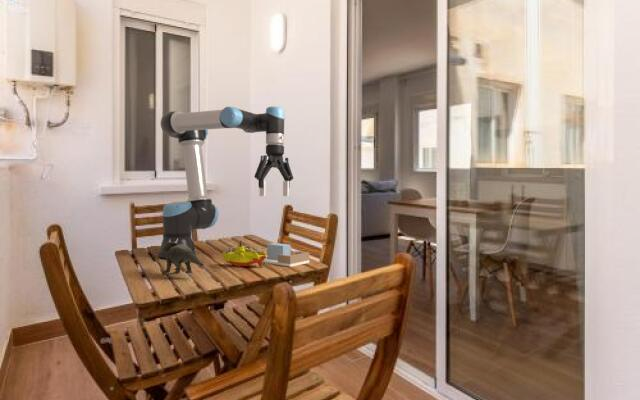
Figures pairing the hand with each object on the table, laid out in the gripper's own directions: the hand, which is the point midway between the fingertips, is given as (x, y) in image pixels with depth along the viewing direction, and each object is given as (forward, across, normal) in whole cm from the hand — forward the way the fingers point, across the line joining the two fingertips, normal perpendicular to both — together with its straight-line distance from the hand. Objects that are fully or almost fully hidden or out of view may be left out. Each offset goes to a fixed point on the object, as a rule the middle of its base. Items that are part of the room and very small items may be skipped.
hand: (274, 196), depth 159 cm
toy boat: (+27, -16, +1) cm, 32 cm away
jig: (+27, 0, +4) cm, 27 cm away
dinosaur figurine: (+27, -38, +9) cm, 48 cm away
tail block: (+26, 0, -3) cm, 26 cm away
